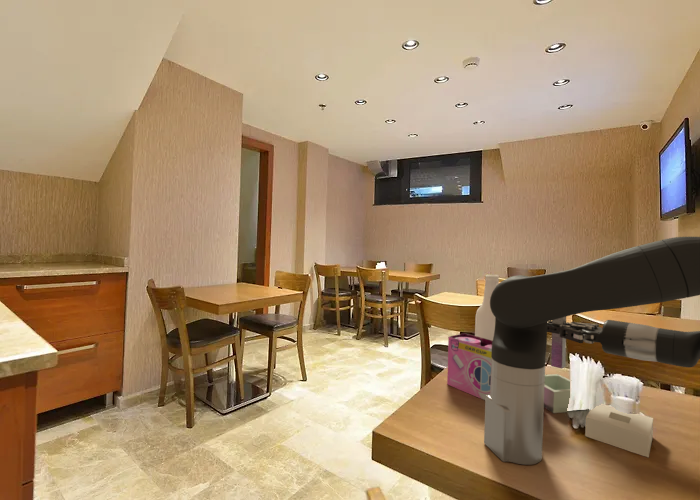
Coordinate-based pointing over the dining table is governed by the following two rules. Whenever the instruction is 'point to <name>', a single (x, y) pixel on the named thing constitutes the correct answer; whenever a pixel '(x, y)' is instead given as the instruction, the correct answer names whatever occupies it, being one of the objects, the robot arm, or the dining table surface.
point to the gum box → (470, 364)
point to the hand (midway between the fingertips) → (546, 325)
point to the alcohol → (486, 311)
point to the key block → (620, 429)
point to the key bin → (556, 393)
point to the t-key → (558, 346)
